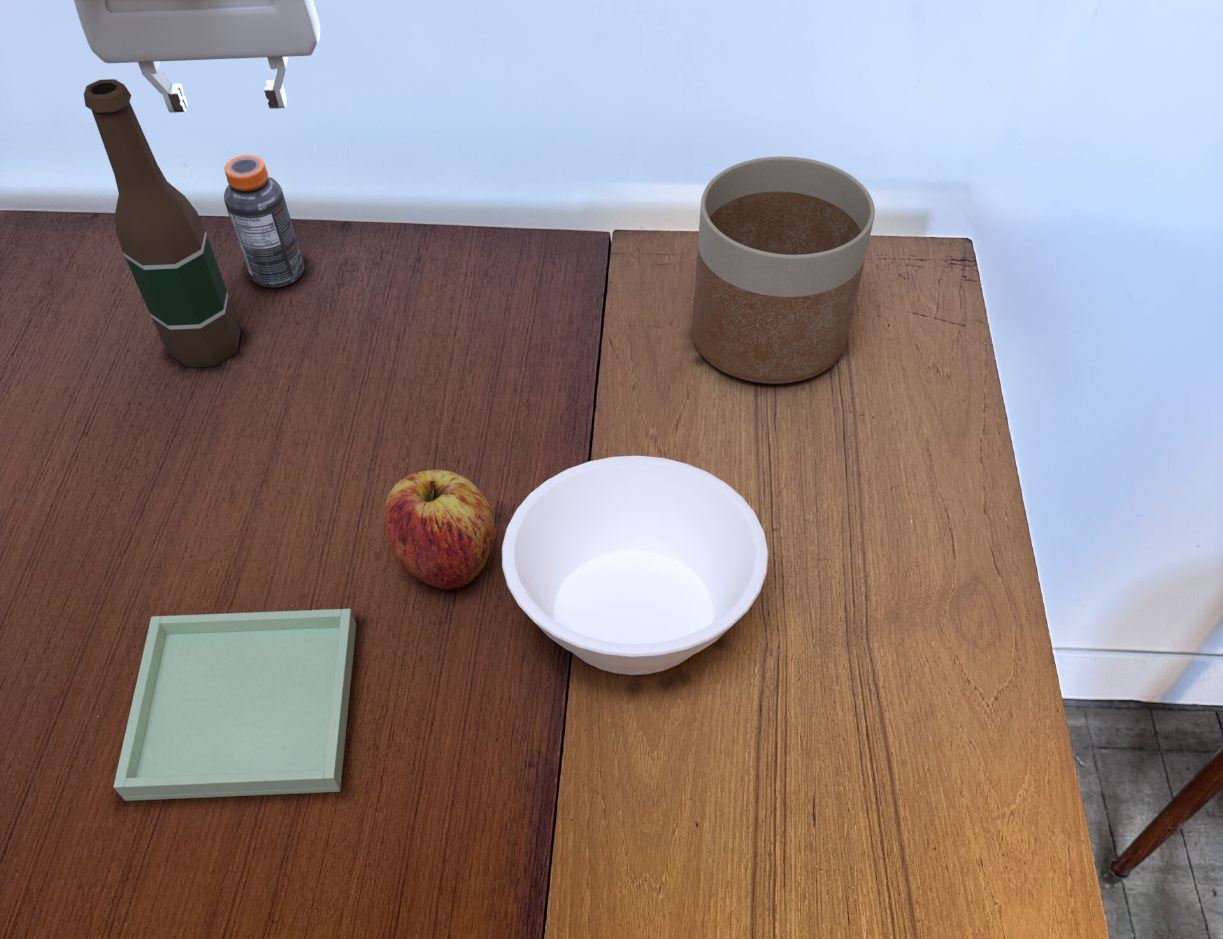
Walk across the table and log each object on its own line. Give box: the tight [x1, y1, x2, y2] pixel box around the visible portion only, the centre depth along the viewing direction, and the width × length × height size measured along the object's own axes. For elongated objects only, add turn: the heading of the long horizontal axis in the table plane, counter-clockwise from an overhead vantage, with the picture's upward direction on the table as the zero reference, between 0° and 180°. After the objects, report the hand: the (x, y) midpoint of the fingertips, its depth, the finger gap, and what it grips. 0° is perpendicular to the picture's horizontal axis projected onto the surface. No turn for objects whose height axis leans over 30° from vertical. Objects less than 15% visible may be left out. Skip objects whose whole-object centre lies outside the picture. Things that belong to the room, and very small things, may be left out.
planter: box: [691, 155, 876, 385], centre depth 98 cm, size 16×16×14 cm
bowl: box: [501, 455, 769, 676], centre depth 83 cm, size 21×21×8 cm
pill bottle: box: [223, 154, 305, 288], centre depth 105 cm, size 6×6×11 cm
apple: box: [383, 469, 496, 591], centre depth 85 cm, size 9×9×10 cm
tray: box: [113, 608, 357, 802], centre depth 81 cm, size 17×17×2 cm
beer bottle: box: [83, 78, 242, 369], centre depth 94 cm, size 8×8×24 cm
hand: (228, 107), depth 96 cm, fingers open, 8 cm apart
